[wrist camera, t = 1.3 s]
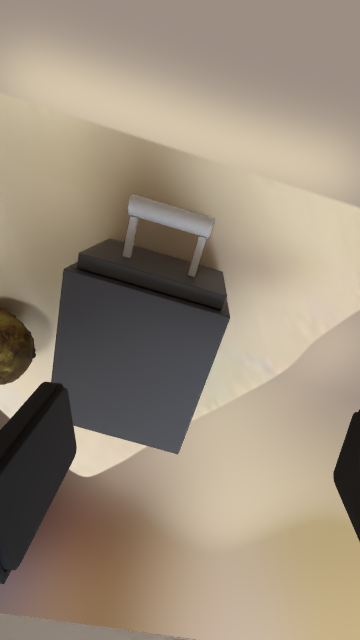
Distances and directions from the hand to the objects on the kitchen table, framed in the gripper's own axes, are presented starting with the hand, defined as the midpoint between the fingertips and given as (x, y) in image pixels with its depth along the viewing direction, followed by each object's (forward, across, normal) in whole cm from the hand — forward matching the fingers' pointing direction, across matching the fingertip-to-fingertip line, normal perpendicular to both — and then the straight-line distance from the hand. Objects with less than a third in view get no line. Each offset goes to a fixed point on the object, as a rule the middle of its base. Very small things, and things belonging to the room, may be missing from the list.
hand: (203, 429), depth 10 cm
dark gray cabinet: (+22, +6, +7) cm, 23 cm away
